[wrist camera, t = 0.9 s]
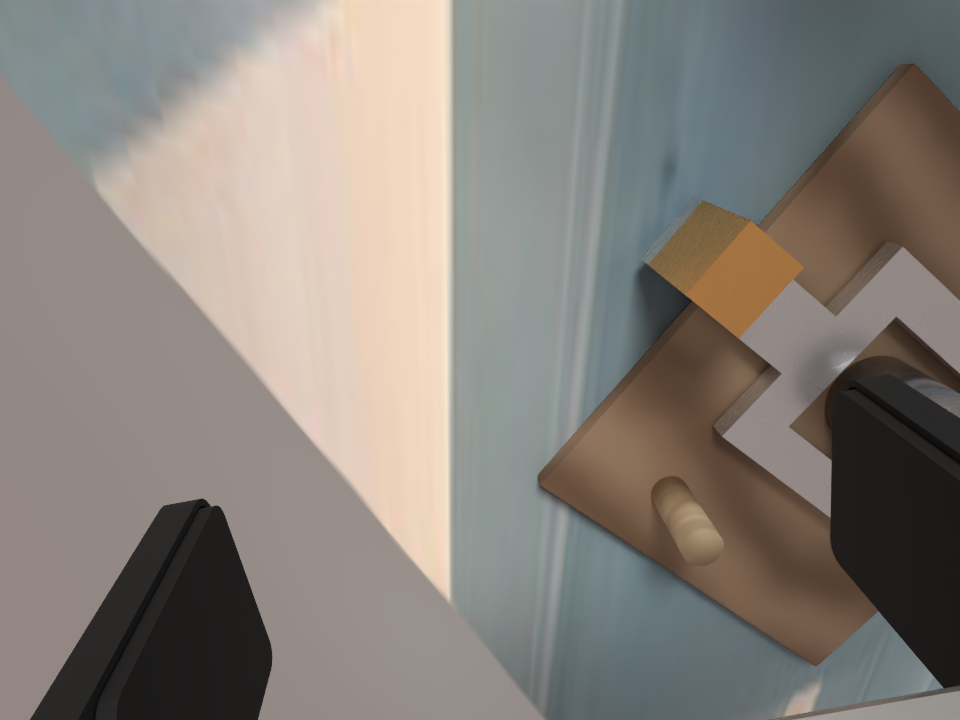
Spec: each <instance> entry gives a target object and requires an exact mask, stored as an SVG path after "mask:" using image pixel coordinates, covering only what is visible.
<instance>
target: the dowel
mask: <svg viewBox="0 0 960 720" xmlns="http://www.w3.org/2000/svg"><path fill="white" fill-rule="evenodd" d="M651 498H652V501H653V503H654V504H655V506H656V508H657V510H658V512H659V514H660V515H661V517H662V519H663V521H664V523H665V524H666V526H667V528H668V530H669V532H670V534H671V535H672V537H673V539H674V541H675V543H676V545H677V546H678V548H679V550H680V552H681V554H682V555H683V557H684V559H685V560H686V561H687V562H688V563H689V564H691V565H694V566H706V565H709V564H711V563H713V562H715V561H716V560H717V559H718V558H719V557H720V556H721V554H722V552H723V549H724V542H723V539H722V538H721V536H720V535H719V533H718V532H717V530H716V529H715V527H714V526H713V524H712V523H711V521H710V519H709V518H708V516H707V515H706V513H705V512H704V510H703V509H702V507H701V506H700V504H699V503H698V501H697V500H696V498H695V497H694V495H693V494H692V492H691V491H690V489H689V487H688V486H687V484H686V483H685V482H684V481H683V480H682V479H681V478H679V477H675V476H669V477H665V478H662V479H660V480H659V481H658V482H657V483H656V484H655V485H654V486H653V488H652V491H651Z"/></svg>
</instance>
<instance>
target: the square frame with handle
mask: <svg viewBox="0 0 960 720" xmlns="http://www.w3.org/2000/svg"><path fill="white" fill-rule="evenodd" d="M641 260H642V261H644V262H645V263H646V264H647V265H649V266H650V267H651V268H652V269H654V270H655V271H656V272H657V273H658V274H660V275H661V276H662V277H663V278H665V279H666V280H667V281H668V282H670V283H671V284H672V285H673V286H674V287H676V288H677V289H678V290H679V291H681V292H682V293H683V294H684V295H686V296H687V297H688V298H689V299H690V300H692V301H693V302H694V303H695V304H697V305H698V306H699V307H700V308H702V309H703V310H704V311H705V312H706V313H708V314H709V315H710V316H711V317H713V318H714V319H715V320H716V321H718V322H719V323H720V324H721V325H723V326H724V327H725V328H726V329H727V330H729V331H730V332H731V333H732V334H734V335H735V336H736V337H737V338H739V339H740V340H741V341H742V342H743V343H745V344H746V345H747V346H748V347H750V348H751V349H752V350H753V351H755V352H756V353H757V354H758V355H759V356H761V357H762V358H763V359H764V360H766V361H767V362H768V363H769V364H771V365H770V366H769V367H768V368H767V369H766V370H765V371H764V372H763V373H762V374H761V376H760V377H759V378H758V379H757V380H756V381H755V382H754V383H753V384H752V385H751V386H750V387H749V388H748V389H747V390H746V391H745V392H744V394H743V395H742V396H741V397H740V398H739V399H738V400H737V401H736V402H735V403H734V404H733V405H732V406H731V407H730V408H729V409H728V410H727V412H726V413H725V414H724V415H723V416H722V417H721V418H720V419H719V420H718V421H717V422H716V423H715V424H714V425H713V426H714V428H715V429H716V430H717V431H718V432H719V434H720V435H721V436H722V437H723V438H725V439H726V440H727V441H729V442H730V443H731V444H733V445H734V446H735V447H737V448H738V449H739V450H741V451H742V452H743V453H745V454H746V455H747V456H749V457H750V458H751V459H753V460H754V461H755V462H757V463H758V464H759V465H761V466H762V467H763V468H765V469H766V470H767V471H769V472H770V473H771V474H773V475H774V476H775V477H777V478H778V479H779V480H781V481H782V482H783V483H785V484H786V485H787V486H789V487H790V488H791V489H793V490H794V491H795V492H797V493H798V494H799V495H801V496H802V497H803V498H805V499H806V500H807V501H809V502H810V503H811V504H813V505H814V506H815V507H817V508H818V509H819V510H821V511H822V512H823V513H825V514H826V515H827V516H829V517H831V468H832V459H831V458H830V457H829V456H827V455H826V454H825V453H823V452H822V451H821V450H820V449H818V448H817V447H816V446H815V445H813V444H812V443H811V442H809V441H808V440H807V439H806V438H804V437H803V436H802V435H801V434H799V433H798V432H797V431H795V430H794V429H793V428H792V427H790V425H791V424H792V423H793V422H794V420H795V419H796V418H797V417H798V416H799V415H800V414H801V413H802V412H803V411H804V410H805V409H806V408H807V407H808V406H809V405H810V404H811V403H812V402H813V401H814V400H815V399H816V398H817V397H818V396H819V395H820V394H821V393H822V392H823V391H824V390H825V389H826V388H827V387H828V386H829V385H830V384H831V383H832V382H833V381H834V380H835V379H836V378H837V377H838V376H839V375H840V374H841V372H842V371H843V370H844V369H845V368H846V367H847V366H848V365H849V364H850V363H851V362H852V361H853V360H854V359H855V358H856V357H857V356H858V355H859V354H860V353H861V352H862V351H863V350H864V349H865V348H866V347H867V346H868V345H869V344H870V343H871V342H872V341H873V340H874V339H875V338H876V337H877V336H878V335H879V334H880V333H881V332H882V331H883V330H884V329H885V328H886V327H887V326H888V324H889V323H890V322H891V321H892V320H894V321H895V322H896V323H898V324H899V325H900V326H901V327H902V328H903V329H904V330H905V331H906V332H908V333H909V334H910V335H911V336H912V337H913V338H914V339H915V340H916V341H918V342H919V343H920V344H921V345H922V346H923V347H924V348H925V349H926V350H928V351H929V352H930V353H931V354H932V355H933V356H934V357H935V358H936V359H938V360H939V361H940V362H941V363H942V364H943V365H944V366H945V367H946V368H948V369H949V370H950V371H951V372H952V373H953V374H954V375H955V376H956V377H958V378H959V379H960V300H959V299H958V298H956V297H955V296H954V295H953V294H952V293H951V292H950V291H949V290H948V289H947V288H946V287H945V286H944V285H943V284H942V283H941V282H940V281H939V280H938V279H936V278H935V277H934V276H933V275H932V274H931V273H930V272H929V271H928V270H927V269H926V268H925V267H924V266H923V265H922V264H921V263H920V262H919V261H917V260H916V259H915V258H914V257H913V256H912V255H911V254H910V253H909V252H908V251H907V250H906V249H905V248H904V247H903V246H900V245H897V244H894V243H891V242H888V241H887V242H886V243H885V244H884V245H883V246H882V247H881V248H880V249H879V250H878V252H877V253H876V254H875V255H874V256H873V257H872V258H871V259H870V260H869V261H868V262H867V263H866V264H865V265H864V266H863V267H862V269H861V270H860V271H859V272H858V273H857V274H856V275H855V276H854V277H853V278H852V279H851V280H850V281H849V282H848V283H847V284H846V285H845V287H844V288H843V289H842V290H841V291H840V292H839V293H838V294H837V295H836V296H835V297H834V298H833V299H832V300H831V301H830V302H829V303H828V305H827V306H826V307H824V306H823V305H822V304H821V303H820V302H819V301H817V300H816V299H815V298H814V297H813V296H812V295H810V294H809V293H808V292H807V291H806V290H805V289H804V288H802V287H801V286H800V285H799V284H798V283H797V282H796V281H794V280H793V279H794V278H795V277H796V276H797V275H798V274H799V273H800V272H801V270H802V269H803V268H804V267H803V266H802V265H801V264H800V263H798V262H797V261H796V260H795V259H794V258H793V257H792V256H791V255H789V254H788V253H787V252H786V251H785V250H784V249H783V248H781V247H780V246H779V245H778V244H777V243H776V242H775V241H774V240H772V239H771V238H770V237H769V236H768V235H767V234H766V233H764V232H763V231H762V230H761V229H760V228H759V227H758V226H757V225H755V224H754V223H753V222H752V221H751V220H748V219H746V218H744V217H741V216H739V215H736V214H734V213H732V212H729V211H727V210H724V209H722V208H719V207H717V206H715V205H712V204H710V203H707V202H705V201H703V200H700V199H698V198H695V197H692V198H691V200H690V201H689V202H688V203H687V204H686V205H685V207H684V208H683V209H682V210H681V211H680V213H679V214H678V215H677V216H676V217H675V218H674V220H673V221H672V222H671V223H670V224H669V226H668V227H667V228H666V229H665V230H664V231H663V233H662V234H661V235H660V236H659V237H658V239H657V240H656V241H655V242H654V243H653V245H652V246H651V247H650V248H649V249H648V250H647V252H646V253H645V254H644V255H643V256H642V258H641Z"/></svg>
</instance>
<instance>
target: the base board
mask: <svg viewBox="0 0 960 720" xmlns="http://www.w3.org/2000/svg"><path fill="white" fill-rule="evenodd" d="M758 227H759V228H760V229H761V230H762V231H763V232H764V233H766V234H767V235H768V236H769V237H770V238H771V239H772V240H774V241H775V242H776V243H777V244H778V245H779V246H780V247H781V248H783V249H784V250H785V251H786V252H787V253H788V254H789V255H791V256H792V257H793V258H794V259H795V260H796V261H797V262H798V263H800V264H801V265H802V266H803V267H804V268H803V269H802V270H801V272H800V273H799V274H798V275H797V276H796V277H795V278H794V279H793V280H794V281H796V282H797V283H798V284H799V285H800V286H801V287H802V288H804V289H805V290H806V291H807V292H808V293H809V294H810V295H812V296H813V297H814V298H815V299H816V300H817V301H819V302H820V303H821V304H822V305H823V306H824V307H826V306H827V305H828V303H829V302H830V301H831V300H832V299H833V298H834V297H835V296H836V295H837V294H838V293H839V292H840V291H841V290H842V289H843V288H844V287H845V285H846V284H847V283H848V282H849V281H850V280H851V279H852V278H853V277H854V276H855V275H856V274H857V273H858V272H859V271H860V270H861V269H862V267H863V266H864V265H865V264H866V263H867V262H868V261H869V260H870V259H871V258H872V257H873V256H874V255H875V254H876V253H877V252H878V250H879V249H880V248H881V247H882V246H883V245H884V244H885V243H886V242H887V241H888V242H891V243H894V244H897V245H900V246H903V247H904V248H905V249H906V250H907V251H908V252H909V253H910V254H911V255H912V256H913V257H914V258H915V259H916V260H917V261H919V262H920V263H921V264H922V265H923V266H924V267H925V268H926V269H927V270H928V271H929V272H930V273H931V274H932V275H933V276H934V277H935V278H936V279H938V280H939V281H940V282H941V283H942V284H943V285H944V286H945V287H946V288H947V289H948V290H949V291H950V292H951V293H952V294H953V295H954V296H955V297H956V298H958V299H959V300H960V112H959V111H958V109H957V108H956V107H955V106H954V105H953V104H952V103H951V102H950V101H949V100H948V99H947V98H946V97H945V96H944V94H943V93H942V92H941V91H940V90H939V89H938V88H937V87H936V86H935V85H934V84H933V83H932V82H931V81H930V80H929V78H928V77H927V76H926V75H925V74H924V73H923V72H922V71H921V70H920V69H919V68H918V67H917V66H916V65H915V64H901V65H900V66H899V67H898V68H897V69H896V70H895V71H894V73H893V74H892V75H891V76H890V77H889V78H888V79H887V80H886V82H885V83H884V84H883V85H882V86H881V87H880V88H879V90H878V91H877V92H876V93H875V94H874V95H873V96H872V97H871V99H870V100H869V101H868V102H867V103H866V104H865V105H864V106H863V108H862V109H861V110H860V111H859V112H858V113H857V114H856V116H855V117H854V118H853V119H852V120H851V121H850V122H849V123H848V125H847V126H846V127H845V128H844V129H843V130H842V131H841V133H840V134H839V135H838V136H837V137H836V138H835V139H834V140H833V142H832V143H831V144H830V145H829V146H828V147H827V148H826V150H825V151H824V152H823V153H822V154H821V155H820V156H819V157H818V159H817V160H816V161H815V162H814V163H813V164H812V165H811V167H810V168H809V169H808V170H807V171H806V172H805V173H804V174H803V176H802V177H801V178H800V179H799V180H798V181H797V182H796V183H795V185H794V186H793V187H792V188H791V189H790V190H789V191H788V193H787V194H786V195H785V196H784V197H783V198H782V199H781V200H780V202H779V203H778V204H777V205H776V206H775V207H774V208H773V210H772V211H771V212H770V213H769V214H768V215H767V216H766V217H765V219H764V220H763V221H762V222H761V223H760V224H759V225H758ZM874 356H890V357H895V358H898V359H900V360H902V361H904V362H905V363H907V364H909V365H911V366H912V367H914V368H916V369H918V370H919V371H921V372H923V373H924V374H926V375H928V376H930V377H931V378H933V379H935V380H937V381H938V382H940V383H942V384H944V385H945V386H947V387H949V388H951V389H952V390H954V391H956V392H957V393H959V394H960V379H959V378H958V377H956V376H955V375H954V374H953V373H952V372H951V371H950V370H949V369H948V368H946V367H945V366H944V365H943V364H942V363H941V362H940V361H939V360H938V359H936V358H935V357H934V356H933V355H932V354H931V353H930V352H929V351H928V350H926V349H925V348H924V347H923V346H922V345H921V344H920V343H919V342H918V341H916V340H915V339H914V338H913V337H912V336H911V335H910V334H909V333H908V332H906V331H905V330H904V329H903V328H902V327H901V326H900V325H899V324H898V323H896V322H895V321H894V320H892V321H891V322H890V323H889V324H888V326H887V327H886V328H885V329H884V330H883V331H882V332H881V333H880V334H879V335H878V336H877V337H876V338H875V339H874V340H873V341H872V342H871V343H870V344H869V345H868V346H867V347H866V348H865V349H864V350H863V351H862V352H861V353H860V354H859V355H858V356H857V357H856V358H855V359H854V360H853V361H852V362H851V363H850V364H849V365H848V366H847V367H846V368H845V369H844V370H846V369H847V368H848V367H850V366H851V365H853V364H855V363H856V362H858V361H861V360H863V359H866V358H869V357H874ZM770 365H771V364H769V363H768V362H767V361H766V360H764V359H763V358H762V357H761V356H759V355H758V354H757V353H756V352H755V351H753V350H752V349H751V348H750V347H748V346H747V345H746V344H745V343H743V342H742V341H741V340H740V339H739V338H737V337H736V336H735V335H734V334H732V333H731V332H730V331H729V330H727V329H726V328H725V327H724V326H723V325H721V324H720V323H719V322H718V321H716V320H715V319H714V318H713V317H711V316H710V315H709V314H708V313H706V312H705V311H704V310H703V309H702V308H700V307H699V306H698V305H697V304H695V303H694V302H693V301H691V302H690V304H689V305H688V306H687V307H686V308H685V309H684V310H683V311H682V313H681V314H680V315H679V316H678V317H677V318H676V319H675V321H674V322H673V323H672V324H671V325H670V326H669V327H668V328H667V330H666V331H665V332H664V333H663V334H662V335H661V336H660V338H659V339H658V340H657V341H656V342H655V343H654V344H653V345H652V347H651V348H650V349H649V350H648V351H647V352H646V353H645V355H644V356H643V357H642V358H641V359H640V360H639V361H638V362H637V364H636V365H635V366H634V367H633V368H632V369H631V370H630V371H629V373H628V374H627V375H626V376H625V377H624V378H623V379H622V381H621V382H620V383H619V384H618V385H617V386H616V387H615V388H614V390H613V391H612V392H611V393H610V394H609V395H608V396H607V398H606V399H605V400H604V401H603V402H602V403H601V404H600V405H599V407H598V408H597V409H596V410H595V411H594V412H593V413H592V415H591V416H590V417H589V418H588V419H587V420H586V421H585V422H584V424H583V425H582V426H581V427H580V428H579V429H578V430H577V432H576V433H575V434H574V435H573V436H572V437H571V438H570V439H569V441H568V442H567V443H566V444H565V445H564V446H563V447H562V449H561V450H560V451H559V452H558V453H557V454H556V455H555V456H554V458H553V459H552V460H551V461H550V462H549V463H548V464H547V465H546V467H545V468H544V469H543V470H542V471H541V472H540V473H539V475H538V479H539V482H540V485H541V486H542V487H544V488H545V489H547V490H548V491H550V492H551V493H553V494H554V495H556V496H557V497H559V498H560V499H562V500H564V501H565V502H567V503H568V504H570V505H571V506H573V507H574V508H576V509H577V510H579V511H580V512H582V513H583V514H585V515H586V516H588V517H589V518H591V519H592V520H594V521H595V522H597V523H598V524H600V525H602V526H603V527H605V528H606V529H608V530H609V531H611V532H612V533H614V534H615V535H617V536H618V537H620V538H621V539H623V540H624V541H626V542H627V543H629V544H630V545H632V546H633V547H635V548H636V549H638V550H639V551H641V552H643V553H644V554H646V555H647V556H649V557H650V558H652V559H653V560H655V561H656V562H658V563H659V564H661V565H662V566H664V567H665V568H667V569H668V570H670V571H671V572H673V573H674V574H676V575H677V576H679V577H680V578H682V579H684V580H685V581H687V582H688V583H690V584H691V585H693V586H694V587H696V588H697V589H699V590H700V591H702V592H703V593H705V594H706V595H708V596H709V597H711V598H712V599H714V600H715V601H717V602H718V603H720V604H721V605H723V606H725V607H726V608H728V609H729V610H731V611H732V612H734V613H735V614H737V615H738V616H740V617H741V618H743V619H744V620H746V621H747V622H749V623H750V624H752V625H753V626H755V627H756V628H758V629H759V630H761V631H763V632H764V633H766V634H767V635H769V636H770V637H772V638H773V639H775V640H776V641H778V642H779V643H781V644H782V645H784V646H785V647H787V648H788V649H790V650H791V651H793V652H794V653H796V654H797V655H799V656H800V657H802V658H804V659H805V660H807V661H808V662H810V663H811V664H813V665H814V666H817V665H818V664H819V663H821V662H822V661H823V660H824V659H825V658H826V657H827V656H828V655H829V654H831V653H832V652H833V651H834V650H835V649H836V648H837V647H838V646H840V645H841V644H842V643H843V642H844V641H845V640H846V639H847V638H848V637H850V636H851V635H852V634H853V633H854V632H855V631H856V630H857V629H858V628H860V627H861V626H862V625H863V624H864V623H865V622H866V621H867V620H869V619H870V618H871V617H872V616H873V615H874V614H875V613H876V612H877V611H878V610H877V609H876V607H875V606H874V605H873V604H872V603H871V602H870V600H869V599H868V598H867V597H866V596H865V594H864V593H863V592H862V591H861V590H860V589H859V587H858V586H857V585H856V584H855V583H854V581H853V580H852V579H851V578H850V577H849V576H848V574H847V573H846V572H845V571H844V570H843V569H842V567H841V566H840V565H839V563H838V562H837V560H836V558H835V556H834V554H833V551H832V548H831V543H830V517H829V516H827V515H826V514H825V513H823V512H822V511H821V510H819V509H818V508H817V507H815V506H814V505H813V504H811V503H810V502H809V501H807V500H806V499H805V498H803V497H802V496H801V495H799V494H798V493H797V492H795V491H794V490H793V489H791V488H790V487H789V486H787V485H786V484H785V483H783V482H782V481H781V480H779V479H778V478H777V477H775V476H774V475H773V474H771V473H770V472H769V471H767V470H766V469H765V468H763V467H762V466H761V465H759V464H758V463H757V462H755V461H754V460H753V459H751V458H750V457H749V456H747V455H746V454H745V453H743V452H742V451H741V450H739V449H738V448H737V447H735V446H734V445H733V444H731V443H730V442H729V441H727V440H726V439H725V438H723V437H722V436H721V435H720V434H719V432H718V431H717V430H716V429H715V428H714V426H713V425H714V424H715V423H716V422H717V421H718V420H719V419H720V418H721V417H722V416H723V415H724V414H725V413H726V412H727V410H728V409H729V408H730V407H731V406H732V405H733V404H734V403H735V402H736V401H737V400H738V399H739V398H740V397H741V396H742V395H743V394H744V392H745V391H746V390H747V389H748V388H749V387H750V386H751V385H752V384H753V383H754V382H755V381H756V380H757V379H758V378H759V377H760V376H761V374H762V373H763V372H764V371H765V370H766V369H767V368H768V367H769V366H770ZM844 370H843V371H844ZM843 371H842V372H843ZM842 372H841V373H842ZM836 379H837V378H836ZM836 379H835V380H836ZM835 380H834V381H835ZM834 381H833V382H832V383H831V384H830V385H829V386H828V387H827V388H826V389H825V390H824V391H823V392H822V393H821V394H820V395H819V396H818V397H817V398H816V399H815V400H814V401H813V402H812V403H811V404H810V405H809V406H808V407H807V408H806V409H805V410H804V411H803V412H802V413H801V414H800V415H799V416H798V417H797V418H796V419H795V420H794V422H793V423H792V424H791V425H790V427H792V428H793V429H794V430H795V431H797V432H798V433H799V434H801V435H802V436H803V437H804V438H806V439H807V440H808V441H809V442H811V443H812V444H813V445H815V446H816V447H817V448H818V449H820V450H821V451H822V452H823V453H825V454H826V455H827V456H829V457H830V458H831V459H832V431H831V429H830V428H829V426H828V424H827V422H826V419H825V409H824V407H825V401H826V397H827V394H828V392H829V389H830V388H831V386H832V384H833V383H834ZM669 476H675V477H679V478H681V479H682V480H683V481H684V482H685V483H686V484H687V486H688V487H689V489H690V491H691V492H692V494H693V495H694V497H695V498H696V500H697V501H698V503H699V504H700V506H701V507H702V509H703V510H704V512H705V513H706V515H707V516H708V518H709V519H710V521H711V523H712V524H713V526H714V527H715V529H716V530H717V532H718V533H719V535H720V536H721V538H722V539H723V542H724V549H723V552H722V554H721V556H720V557H719V558H718V559H717V560H716V561H715V562H713V563H711V564H709V565H706V566H694V565H691V564H689V563H688V562H687V561H686V560H685V559H684V557H683V555H682V554H681V552H680V550H679V548H678V546H677V545H676V543H675V541H674V539H673V537H672V535H671V534H670V532H669V530H668V528H667V526H666V524H665V523H664V521H663V519H662V517H661V515H660V514H659V512H658V510H657V508H656V506H655V504H654V503H653V501H652V498H651V491H652V488H653V486H654V485H655V484H656V483H657V482H658V481H659V480H660V479H662V478H665V477H669Z"/></svg>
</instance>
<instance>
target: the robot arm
mask: <svg viewBox="0 0 960 720" xmlns="http://www.w3.org/2000/svg"><path fill="white" fill-rule="evenodd" d="M830 543H831V548H832V551H833V554H834V556H835V558H836V560H837V562H838V563H839V565H840V566H841V567H842V569H843V570H844V571H845V572H846V573H847V574H848V576H849V577H850V578H851V579H852V580H853V581H854V583H855V584H856V585H857V586H858V587H859V589H860V590H861V591H862V592H863V593H864V594H865V596H866V597H867V598H868V599H869V600H870V602H871V603H872V604H873V605H874V606H875V607H876V609H877V610H878V611H879V612H880V613H881V614H882V616H883V617H884V618H885V619H886V620H887V622H888V623H889V624H890V625H891V626H892V627H893V629H894V630H895V631H896V632H897V633H898V635H899V636H900V637H901V638H902V639H903V640H904V642H905V643H906V644H907V645H908V646H909V648H910V649H911V650H912V651H913V652H914V653H915V655H916V656H917V657H918V658H919V659H920V660H921V662H922V663H923V664H924V665H925V666H926V668H927V669H928V670H929V671H930V672H931V673H932V675H933V676H934V677H935V678H936V679H937V681H938V682H939V683H940V684H941V685H942V686H943V688H944V689H938V690H933V691H927V692H921V693H916V694H910V695H905V696H899V697H893V698H888V699H882V700H876V701H871V702H865V703H859V704H854V705H848V706H843V707H837V708H831V709H826V710H820V711H814V712H809V713H803V714H797V715H792V716H786V717H781V718H775V719H769V720H960V418H959V417H957V416H956V415H954V414H953V413H951V412H950V411H948V410H946V409H945V408H943V407H942V406H940V405H939V404H937V403H936V402H934V401H932V400H931V399H929V398H928V397H926V396H925V395H923V394H921V393H920V392H918V391H917V390H915V389H914V388H912V387H910V386H909V385H907V384H906V383H904V382H903V381H901V380H899V379H898V378H896V377H895V376H893V375H890V374H882V375H877V376H871V377H866V378H860V379H855V380H849V381H848V382H846V383H845V385H844V387H843V391H842V392H837V393H836V394H835V396H834V398H833V418H832V468H831V517H830ZM271 666H272V650H271V644H270V640H269V638H268V635H267V632H266V629H265V626H264V624H263V621H262V618H261V615H260V613H259V610H258V607H257V604H256V602H255V599H254V596H253V593H252V590H251V587H250V585H249V582H248V579H247V577H246V574H245V571H244V568H243V565H242V562H241V560H240V557H239V554H238V551H237V548H236V546H235V543H234V540H233V537H232V535H231V532H230V529H229V526H228V523H227V521H226V518H225V515H224V513H223V511H222V509H221V508H220V507H219V506H212V507H211V506H210V505H209V504H208V502H207V501H206V500H204V499H198V500H192V501H187V502H181V503H176V504H170V505H166V506H163V507H162V508H161V509H160V511H159V513H158V514H157V516H156V517H155V519H154V521H153V522H152V524H151V525H150V527H149V528H148V530H147V532H146V534H145V535H144V537H143V538H142V540H141V541H140V543H139V545H138V546H137V548H136V550H135V551H134V553H133V554H132V556H131V558H130V559H129V561H128V562H127V564H126V566H125V567H124V569H123V570H122V572H121V574H120V575H119V577H118V579H117V580H116V582H115V583H114V585H113V587H112V588H111V590H110V591H109V593H108V595H107V596H106V598H105V600H104V601H103V603H102V605H101V606H100V608H99V609H98V611H97V612H96V614H95V616H94V617H93V619H92V621H91V622H90V624H89V625H88V627H87V629H86V630H85V632H84V634H83V635H82V637H81V638H80V640H79V642H78V643H77V645H76V647H75V648H74V650H73V651H72V653H71V655H70V656H69V658H68V659H67V661H66V663H65V664H64V666H63V668H62V669H61V671H60V672H59V674H58V675H57V677H56V679H55V680H54V682H53V684H52V685H51V687H50V689H49V690H48V692H47V693H46V695H45V696H44V698H43V700H42V702H41V703H40V705H39V706H38V708H37V709H36V711H35V713H34V714H33V716H32V717H31V719H30V720H258V717H259V713H260V709H261V705H262V702H263V698H264V694H265V690H266V687H267V683H268V679H269V675H270V671H271Z"/></svg>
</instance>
